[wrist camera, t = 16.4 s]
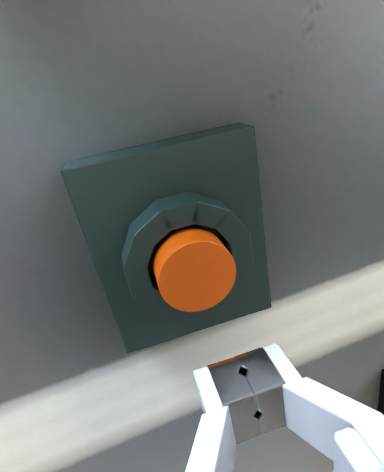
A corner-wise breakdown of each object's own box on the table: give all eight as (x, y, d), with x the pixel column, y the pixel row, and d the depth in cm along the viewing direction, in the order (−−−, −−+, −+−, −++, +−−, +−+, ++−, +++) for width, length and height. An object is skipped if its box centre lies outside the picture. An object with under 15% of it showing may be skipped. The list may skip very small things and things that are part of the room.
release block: (258, 290, 24) (284, 324, 21) (125, 331, 23) (129, 375, 19) (239, 122, 19) (269, 129, 15) (65, 162, 18) (55, 179, 14)
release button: (229, 282, 19) (240, 299, 17) (162, 302, 18) (167, 321, 17) (219, 219, 17) (231, 231, 16) (144, 239, 17) (149, 254, 15)
